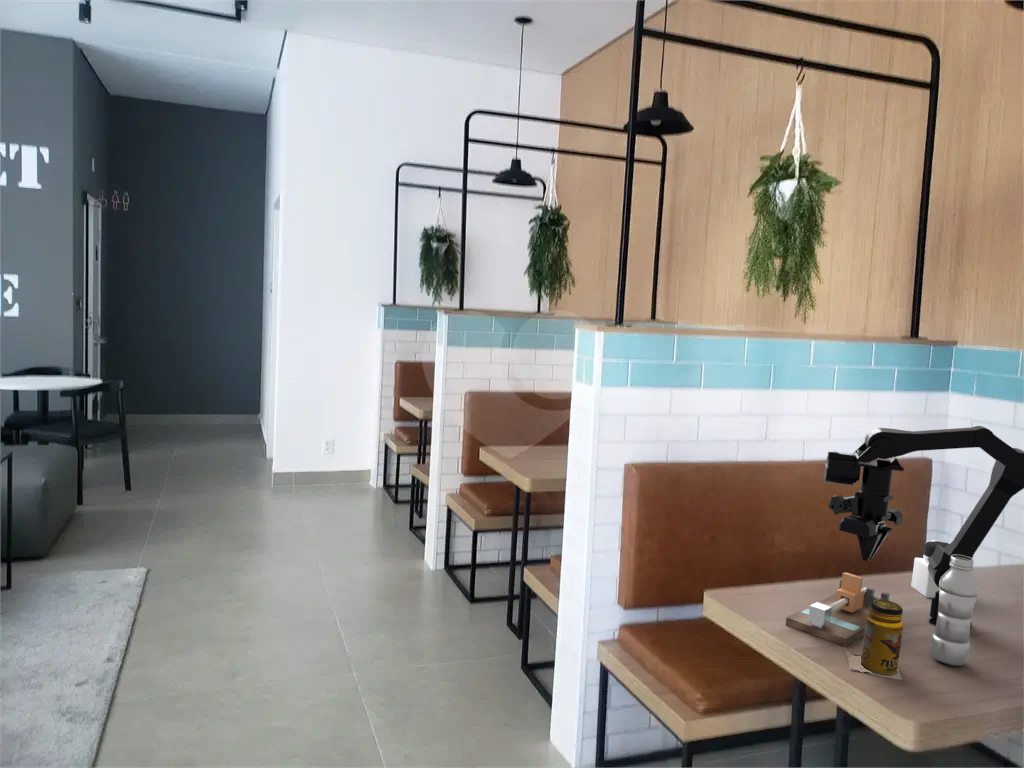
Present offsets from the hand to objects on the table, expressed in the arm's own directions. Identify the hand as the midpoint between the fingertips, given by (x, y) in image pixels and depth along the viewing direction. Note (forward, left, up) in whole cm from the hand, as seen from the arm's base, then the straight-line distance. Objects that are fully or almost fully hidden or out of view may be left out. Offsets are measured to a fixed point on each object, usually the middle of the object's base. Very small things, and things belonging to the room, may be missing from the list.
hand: (866, 560), depth 168 cm
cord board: (0, +10, -11) cm, 15 cm away
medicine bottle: (-6, -25, -11) cm, 28 cm away
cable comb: (0, 0, -10) cm, 10 cm away
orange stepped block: (0, +7, -9) cm, 11 cm away
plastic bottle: (-21, +12, -11) cm, 26 cm away
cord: (0, +9, -8) cm, 11 cm away
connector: (0, +20, -10) cm, 22 cm away
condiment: (-13, +26, -11) cm, 31 cm away
